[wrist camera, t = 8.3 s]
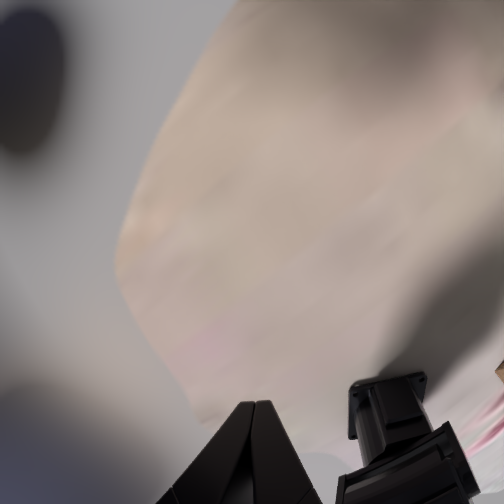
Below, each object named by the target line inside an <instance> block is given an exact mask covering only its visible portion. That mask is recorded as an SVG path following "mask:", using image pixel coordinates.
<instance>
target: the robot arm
mask: <svg viewBox="0 0 504 504" xmlns="http://www.w3.org/2000/svg"><path fill="white" fill-rule="evenodd" d="M420 378H421V379H420ZM426 383H427V375H426V374H425V372H419V373H416V374H412V375H407V376H403V377H399V378H395V379H390V380H386V381H381V382H376V383H371V384H366V385H361V386H356V387H352V388H351V389H350V390H349V392H348V438H349V439H350V440H355V439H358V442H359V446H360V451H361V456H362V461H363V466H364V468H361V469H359V470H357V471H354V472H352V473H350V474H345V475H342V476H340V477H339V479H338V486H337V494H336V502H335V504H474V503H473V501H472V497H474V496H476V495H478V494H479V493H481V492H480V489H479V486H478V484H477V481H476V479H475V476H474V474H473V471H472V469H471V466H470V464H469V462H468V460H467V457H466V455H465V453H464V451H463V449H462V446H461V444H460V442H459V440H458V438H457V436H456V434H455V432H454V430H453V428H452V426H451V425H450V423H449V421H447V422H445V423H444V424H442V426H441V427H439V428H438V429H436V430H433V427H432V425H431V423H430V420H429V418H428V416H427V414H426V412H425V409H424V407H423V405H422V402H423V397H424V393H425V388H426ZM355 392H357V393H355ZM172 487H173V488H172ZM172 487H171V488H169V489H168V491H167V492H166V493H165V494H164V495H163V496H162V497H161V498H160V499H159V500H158V501H157V502H156V503H155V504H323V503H322V502H321V500H320V498H319V496H318V494H317V492H316V490H315V489H314V488H313V485H312V483H311V481H310V479H309V477H308V475H307V474H306V471H305V469H304V467H303V465H302V463H301V461H300V459H299V457H298V455H297V453H296V451H295V449H294V447H293V445H292V443H291V441H290V439H289V437H288V435H287V433H286V431H285V429H284V427H283V425H282V422H281V420H280V418H279V416H278V414H277V412H276V410H275V408H274V406H273V404H272V402H271V401H270V400H261V401H257V402H256V403H255V402H254V401H244V402H240V403H239V404H238V405H237V407H236V408H235V409H234V411H233V412H232V413H231V414H230V416H229V417H228V418H227V420H226V421H225V422H224V423H223V425H222V426H221V427H220V429H219V430H218V431H217V432H216V434H215V435H214V436H213V437H212V439H211V440H210V441H209V442H208V444H207V445H206V446H205V447H204V449H203V450H202V451H201V452H200V453H199V454H198V456H197V457H196V458H195V459H194V461H193V462H192V463H191V464H190V465H189V466H188V468H187V469H186V470H185V471H184V472H183V474H182V475H181V476H180V477H179V478H178V479H177V481H176V482H175V483H174V484H173V485H172Z"/></svg>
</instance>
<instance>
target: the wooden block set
mask: <svg viewBox="0 0 504 504" xmlns="http://www.w3.org/2000/svg"><path fill="white" fill-rule="evenodd" d="M495 373H496V374H497V375H498V376H499V378H500V379H501V380H502V382H503V383H504V362H503V363H502V364H501V365H500V366H499V367H498V368H497V369H496V370H495Z"/></svg>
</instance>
